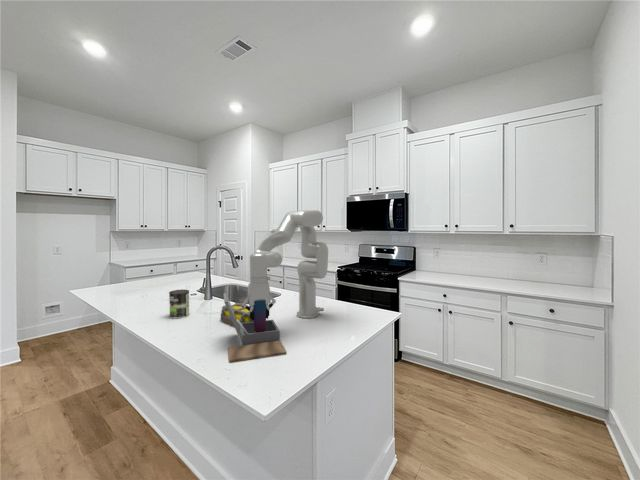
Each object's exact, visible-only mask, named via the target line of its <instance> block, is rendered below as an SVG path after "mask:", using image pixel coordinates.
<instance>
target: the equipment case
mask: <svg viewBox="0 0 640 480" xmlns="http://www.w3.org/2000/svg"><path fill="white" fill-rule="evenodd" d="M236 321H237V322H238V324H239V325H240V332H241V335H240V336H239V337H240V341H241V346H243V345H250V344H257V343H265V342H272V341H279V340H280V337H281V333H280V329H279V327H278V326H277V324H276V322H275V320H274V319H266V331H265V332H258V333H256V332H255V331H254V322H246V323H240V322H239V320H238V319H237V320H236ZM280 341H281V340H280Z"/></svg>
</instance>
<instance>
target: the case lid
mask: <svg viewBox="0 0 640 480" xmlns="http://www.w3.org/2000/svg"><path fill="white" fill-rule="evenodd" d="M223 302H224V306H226V307H227V310H228V312H229V315H230V317H231V319H232V322H233V324H234V327H233V328H234V329H235V332H236V334H237V336H238V337H240V335H241V332H240V327H239V324H238V322H237V321H236V320H237V318H236V316H235V313H234V311H233V309H232V306H231V305H232V304H231V301H230V299H229V296H228V295H227V292H224V293H223Z"/></svg>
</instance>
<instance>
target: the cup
mask: <svg viewBox="0 0 640 480" xmlns="http://www.w3.org/2000/svg"><path fill="white" fill-rule="evenodd" d="M253 316H254V331H255V332H254V333H258V332H266V320H267V318H266V300H263V301H254V306H253Z"/></svg>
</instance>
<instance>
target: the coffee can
mask: <svg viewBox="0 0 640 480" xmlns="http://www.w3.org/2000/svg"><path fill="white" fill-rule="evenodd" d="M168 294H169V299H168V300H169V318H170V319H175V320H176V319H178V318H179V319H184V318H187V317H189V316H190V290H188V289H175V290H171V291H169V292H168Z"/></svg>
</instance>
